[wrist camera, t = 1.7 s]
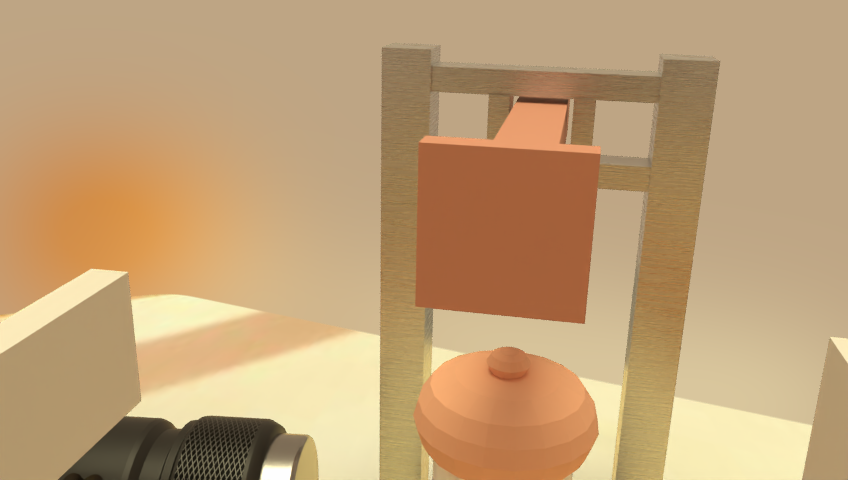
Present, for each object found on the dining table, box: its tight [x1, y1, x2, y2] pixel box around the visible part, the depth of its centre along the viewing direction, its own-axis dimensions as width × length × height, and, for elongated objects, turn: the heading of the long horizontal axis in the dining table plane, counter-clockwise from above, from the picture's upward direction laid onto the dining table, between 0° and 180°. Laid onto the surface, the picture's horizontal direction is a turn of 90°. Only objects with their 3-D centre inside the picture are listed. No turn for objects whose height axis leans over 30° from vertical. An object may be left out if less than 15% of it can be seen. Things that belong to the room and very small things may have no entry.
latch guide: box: [380, 43, 720, 480], centre depth 43 cm, size 2×15×29 cm, turn 78°
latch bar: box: [415, 96, 601, 324], centre depth 33 cm, size 22×5×5 cm, turn 169°
